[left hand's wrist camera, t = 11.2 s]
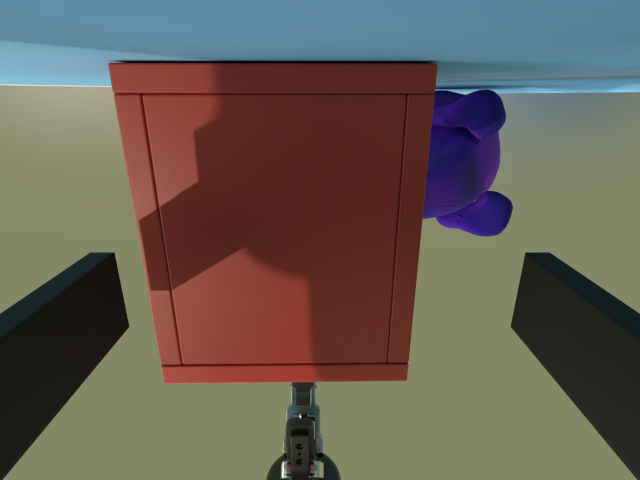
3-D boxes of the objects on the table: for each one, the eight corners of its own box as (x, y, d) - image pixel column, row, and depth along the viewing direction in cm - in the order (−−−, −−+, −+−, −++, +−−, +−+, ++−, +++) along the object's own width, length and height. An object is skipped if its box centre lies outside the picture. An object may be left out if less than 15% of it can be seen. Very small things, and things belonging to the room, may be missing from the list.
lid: (358, 223, 33) (355, 310, 35) (240, 224, 32) (247, 311, 35) (408, 364, 15) (394, 508, 18) (160, 366, 15) (185, 511, 18)
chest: (365, 82, 28) (360, 226, 32) (227, 82, 28) (238, 227, 32) (438, 63, 12) (409, 363, 15) (106, 62, 12) (160, 365, 15)
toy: (547, 89, 30) (478, 69, 54) (330, 142, 35) (355, 102, 59) (552, 263, 36) (488, 176, 60) (368, 288, 41) (377, 198, 65)
